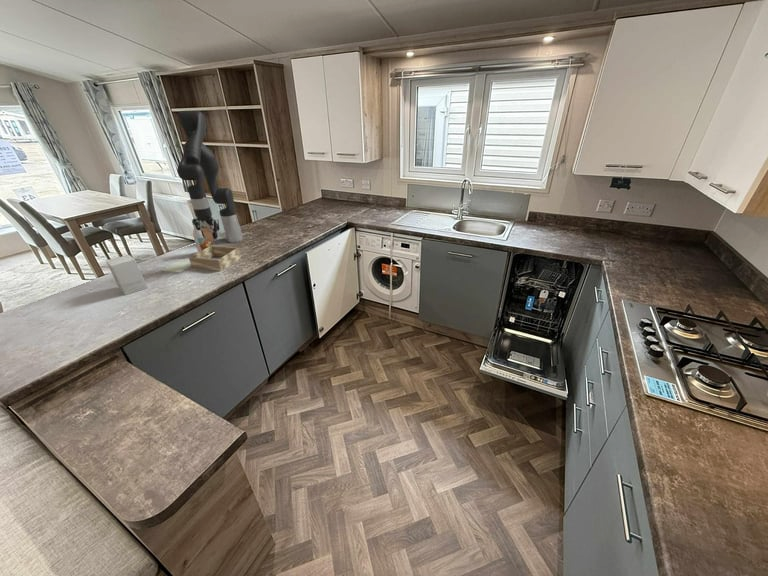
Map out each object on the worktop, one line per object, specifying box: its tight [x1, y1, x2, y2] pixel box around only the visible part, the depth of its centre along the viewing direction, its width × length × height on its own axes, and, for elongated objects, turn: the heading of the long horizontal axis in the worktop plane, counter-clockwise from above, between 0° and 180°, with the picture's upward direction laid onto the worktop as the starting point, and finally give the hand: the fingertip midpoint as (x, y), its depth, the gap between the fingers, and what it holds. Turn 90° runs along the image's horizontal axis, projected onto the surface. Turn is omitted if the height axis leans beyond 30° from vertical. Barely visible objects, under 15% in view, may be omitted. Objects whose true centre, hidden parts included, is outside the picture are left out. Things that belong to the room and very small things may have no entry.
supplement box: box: [105, 254, 148, 296], centre depth 136 cm, size 9×9×15 cm
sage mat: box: [161, 261, 192, 274], centre depth 160 cm, size 11×11×1 cm
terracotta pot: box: [201, 221, 218, 243], centre depth 157 cm, size 6×6×11 cm
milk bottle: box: [191, 220, 213, 253], centre depth 172 cm, size 8×8×20 cm
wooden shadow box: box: [188, 245, 242, 272], centre depth 165 cm, size 18×18×6 cm
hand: (210, 238), depth 159 cm, fingers closed on terracotta pot, 5 cm apart
